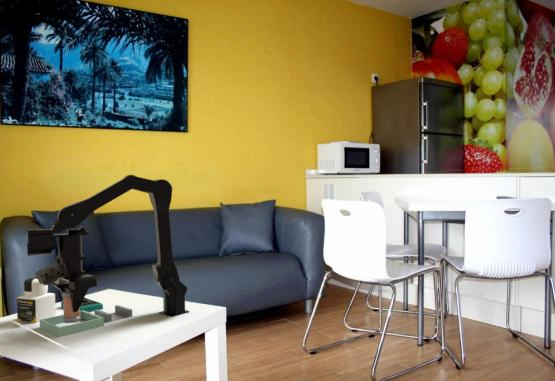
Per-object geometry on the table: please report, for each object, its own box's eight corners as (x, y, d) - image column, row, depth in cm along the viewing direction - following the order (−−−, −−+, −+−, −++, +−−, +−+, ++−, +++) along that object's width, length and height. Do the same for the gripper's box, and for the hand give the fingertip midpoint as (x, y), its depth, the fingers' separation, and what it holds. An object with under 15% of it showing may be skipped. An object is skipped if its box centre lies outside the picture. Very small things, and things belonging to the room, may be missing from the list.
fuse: (83, 320, 128) (82, 290, 128) (67, 324, 125) (66, 293, 125) (76, 317, 131) (75, 288, 131) (60, 321, 128) (60, 291, 128)
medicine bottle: (16, 322, 134) (15, 279, 134) (37, 315, 141) (37, 275, 141) (35, 324, 132) (34, 281, 132) (56, 317, 138) (55, 276, 138)
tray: (103, 327, 128) (103, 317, 128) (58, 338, 119) (58, 328, 119) (83, 319, 136) (83, 310, 136) (39, 328, 127) (39, 319, 127)
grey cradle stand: (132, 317, 137) (132, 309, 137) (108, 323, 131) (108, 315, 131) (118, 313, 142) (117, 305, 142) (94, 318, 137) (94, 310, 137)
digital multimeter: (82, 304, 156) (82, 295, 156) (103, 311, 146) (103, 302, 145) (60, 308, 151) (59, 299, 151) (80, 317, 140) (79, 307, 140)
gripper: (25, 253, 128) (26, 311, 128) (54, 260, 115) (56, 323, 116) (66, 248, 136) (68, 302, 136) (98, 254, 124) (99, 314, 124)
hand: (71, 310), depth 128 cm, fingers closed on fuse, 4 cm apart
